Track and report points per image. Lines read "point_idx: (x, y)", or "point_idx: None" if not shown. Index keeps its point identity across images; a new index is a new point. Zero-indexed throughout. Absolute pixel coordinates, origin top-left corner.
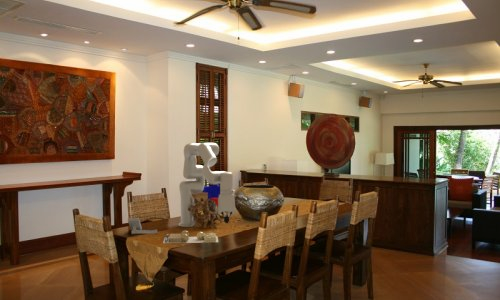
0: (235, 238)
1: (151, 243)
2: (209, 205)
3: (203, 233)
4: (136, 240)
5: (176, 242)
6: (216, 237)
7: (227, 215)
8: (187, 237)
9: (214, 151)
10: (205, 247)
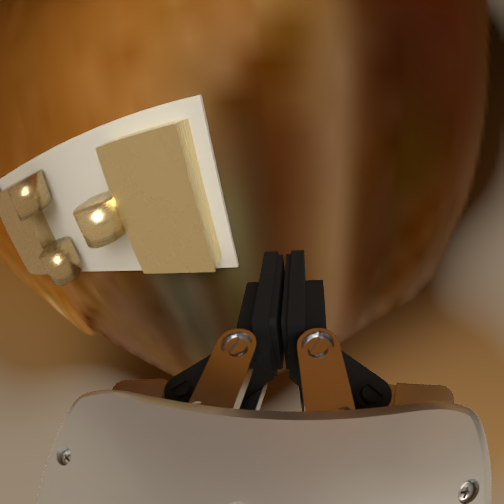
0: (364, 149)
1: (12, 260)
2: None
3: (107, 218)
4: None
5: None
6: (201, 141)
7: (295, 381)
8: (74, 276)
9: None
10: (192, 329)
